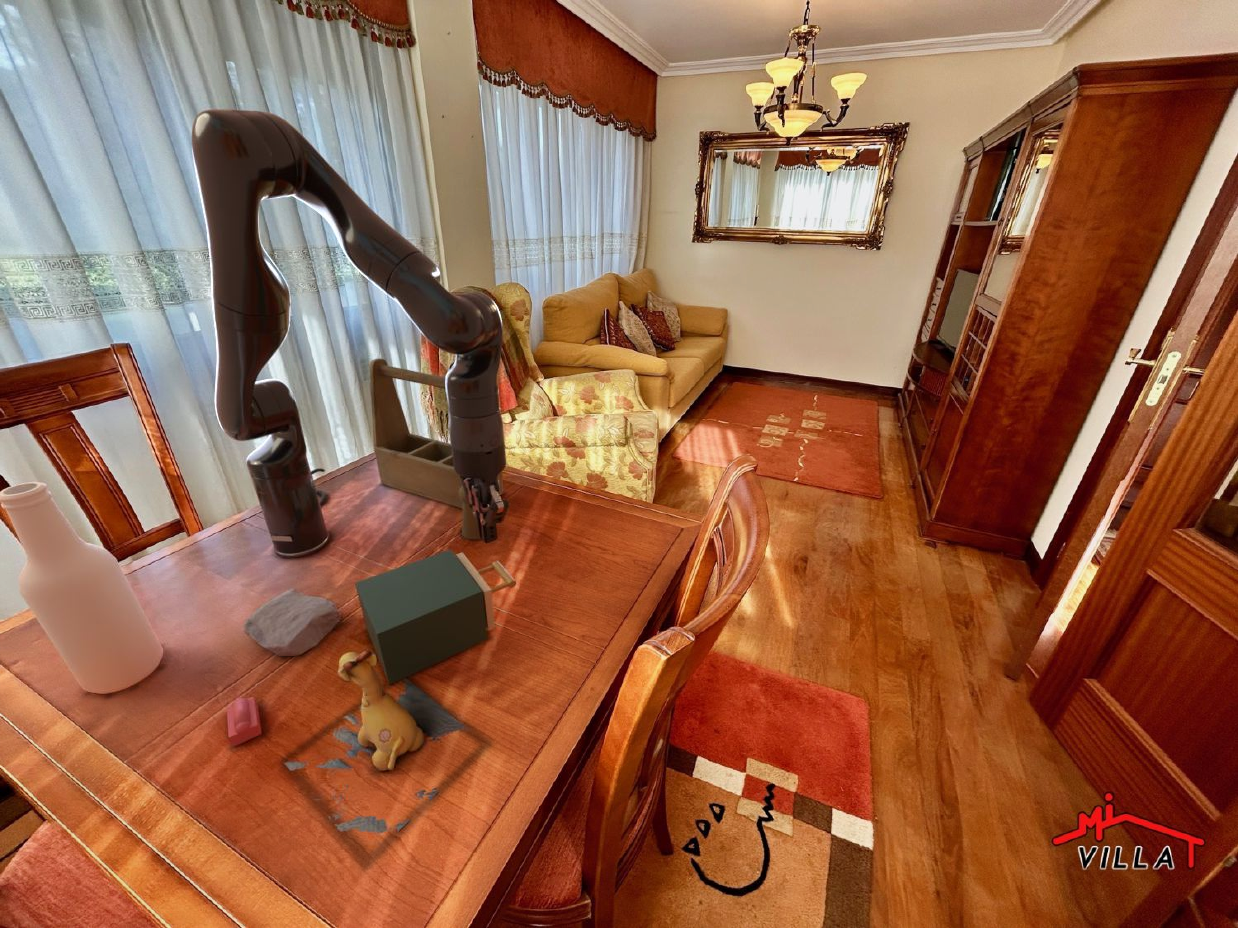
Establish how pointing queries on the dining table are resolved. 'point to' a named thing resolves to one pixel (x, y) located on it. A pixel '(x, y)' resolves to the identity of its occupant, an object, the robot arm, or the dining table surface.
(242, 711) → the red ridged block
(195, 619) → the dining table surface
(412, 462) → the caddy
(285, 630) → the stone block
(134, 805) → the dining table surface
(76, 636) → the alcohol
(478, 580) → the drawer
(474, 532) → the wooden peg doll
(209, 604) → the dining table surface
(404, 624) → the cabinet
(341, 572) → the dining table surface
